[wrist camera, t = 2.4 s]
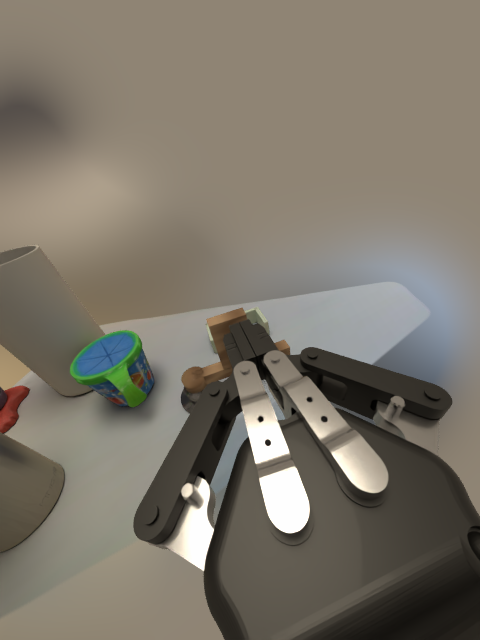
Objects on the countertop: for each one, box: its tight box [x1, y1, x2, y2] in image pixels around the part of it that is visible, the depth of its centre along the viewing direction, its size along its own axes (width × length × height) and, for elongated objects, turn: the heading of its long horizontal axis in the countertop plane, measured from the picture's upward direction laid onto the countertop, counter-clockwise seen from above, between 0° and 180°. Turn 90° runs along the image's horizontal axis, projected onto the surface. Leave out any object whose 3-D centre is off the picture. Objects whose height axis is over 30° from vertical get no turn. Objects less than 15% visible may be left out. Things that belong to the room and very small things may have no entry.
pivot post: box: [181, 384, 208, 413], centre depth 36 cm, size 7×7×3 cm
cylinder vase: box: [0, 245, 105, 396], centre depth 39 cm, size 12×12×25 cm
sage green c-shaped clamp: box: [206, 307, 269, 353], centre depth 46 cm, size 12×6×4 cm, turn 107°
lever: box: [182, 308, 290, 394], centre depth 33 cm, size 18×4×14 cm, turn 107°
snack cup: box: [70, 331, 154, 407], centre depth 37 cm, size 16×10×10 cm
